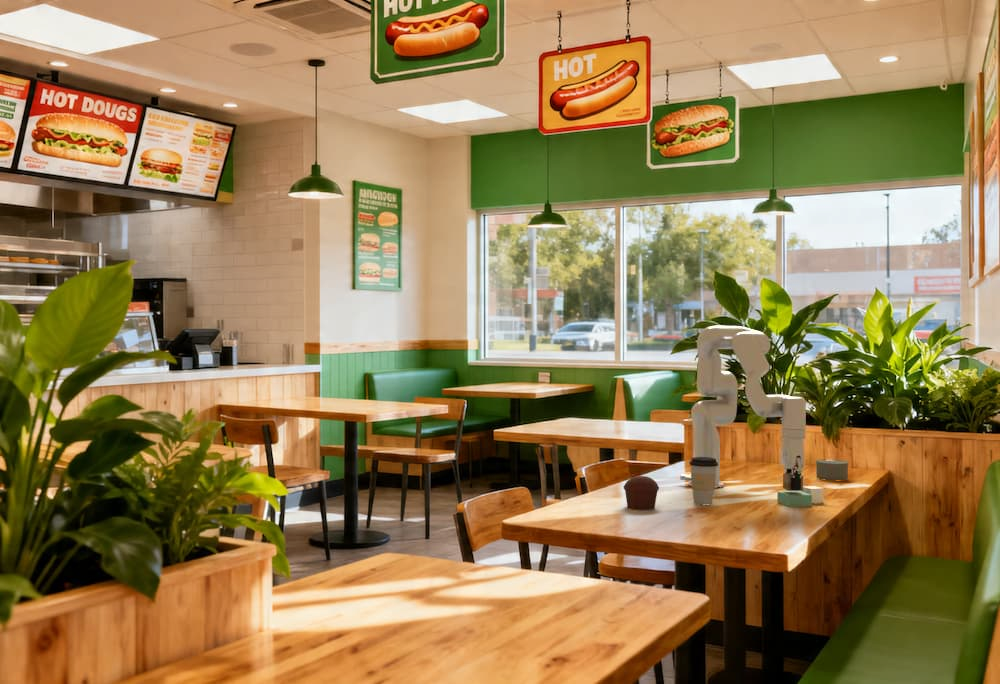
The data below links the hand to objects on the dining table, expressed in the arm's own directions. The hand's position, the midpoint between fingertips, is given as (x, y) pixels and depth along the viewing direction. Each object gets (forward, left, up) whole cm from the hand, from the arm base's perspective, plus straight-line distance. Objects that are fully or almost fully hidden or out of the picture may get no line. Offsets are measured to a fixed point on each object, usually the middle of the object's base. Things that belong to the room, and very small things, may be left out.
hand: (792, 487), depth 312 cm
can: (+34, +54, -6) cm, 64 cm away
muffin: (-52, -7, -6) cm, 53 cm away
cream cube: (+8, +4, -6) cm, 10 cm away
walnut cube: (0, 0, -1) cm, 1 cm away
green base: (0, 0, -6) cm, 6 cm away
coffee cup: (-30, 0, -6) cm, 31 cm away
